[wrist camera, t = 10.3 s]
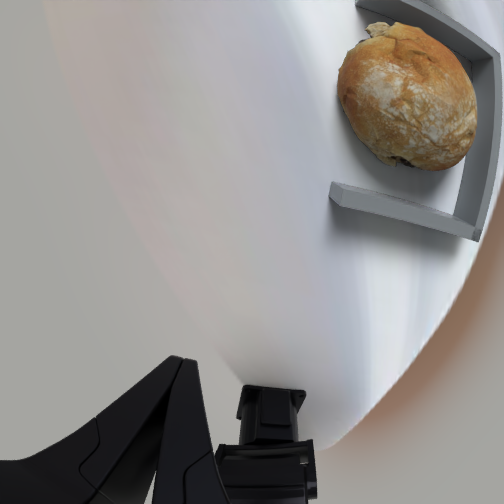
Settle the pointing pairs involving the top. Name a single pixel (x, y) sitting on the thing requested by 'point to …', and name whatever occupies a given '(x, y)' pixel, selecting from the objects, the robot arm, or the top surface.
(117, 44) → the top surface
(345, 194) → the grey u-shaped frame
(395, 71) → the bread roll
